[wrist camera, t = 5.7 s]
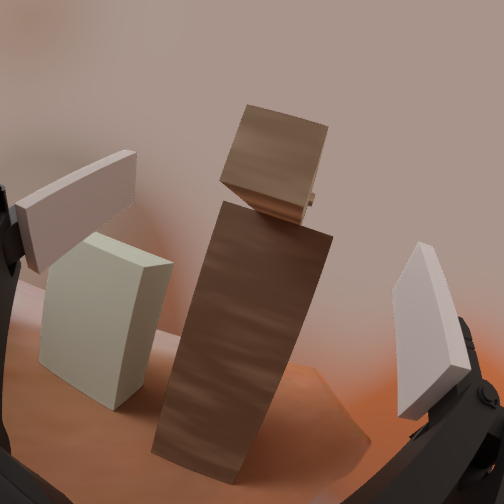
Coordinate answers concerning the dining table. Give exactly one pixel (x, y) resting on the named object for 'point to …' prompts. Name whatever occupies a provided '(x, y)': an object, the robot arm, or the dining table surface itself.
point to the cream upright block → (102, 317)
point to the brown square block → (275, 162)
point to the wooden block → (237, 338)
